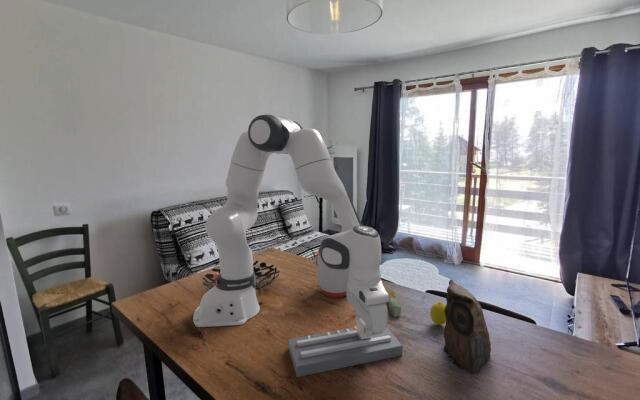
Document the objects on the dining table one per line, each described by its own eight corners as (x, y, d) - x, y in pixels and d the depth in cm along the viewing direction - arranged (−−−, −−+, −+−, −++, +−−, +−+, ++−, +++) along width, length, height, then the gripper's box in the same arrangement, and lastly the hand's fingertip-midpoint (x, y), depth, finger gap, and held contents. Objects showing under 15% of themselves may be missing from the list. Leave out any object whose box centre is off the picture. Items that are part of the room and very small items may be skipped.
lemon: (449, 330, 101) (450, 307, 100) (430, 329, 102) (432, 305, 101) (446, 321, 106) (447, 298, 105) (428, 319, 107) (429, 297, 106)
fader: (361, 342, 90) (362, 326, 89) (356, 334, 94) (356, 318, 93) (371, 340, 91) (371, 324, 90) (365, 333, 95) (366, 317, 94)
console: (296, 377, 82) (296, 363, 81) (288, 348, 93) (287, 335, 93) (402, 355, 90) (402, 342, 89) (382, 331, 101) (382, 319, 101)
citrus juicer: (315, 281, 138) (314, 236, 134) (356, 283, 135) (356, 238, 132) (309, 299, 122) (308, 249, 119) (354, 301, 120) (355, 250, 117)
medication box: (400, 317, 110) (401, 306, 109) (393, 317, 110) (393, 306, 109) (392, 300, 121) (392, 290, 121) (384, 300, 121) (385, 290, 121)
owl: (474, 378, 81) (480, 305, 77) (428, 355, 90) (431, 288, 86) (493, 355, 89) (499, 288, 85) (448, 336, 98) (452, 274, 95)
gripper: (341, 271, 99) (341, 312, 101) (369, 302, 79) (368, 353, 82) (360, 269, 100) (360, 309, 103) (392, 299, 81) (390, 348, 83)
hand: (364, 329), depth 92 cm, fingers open, 4 cm apart
